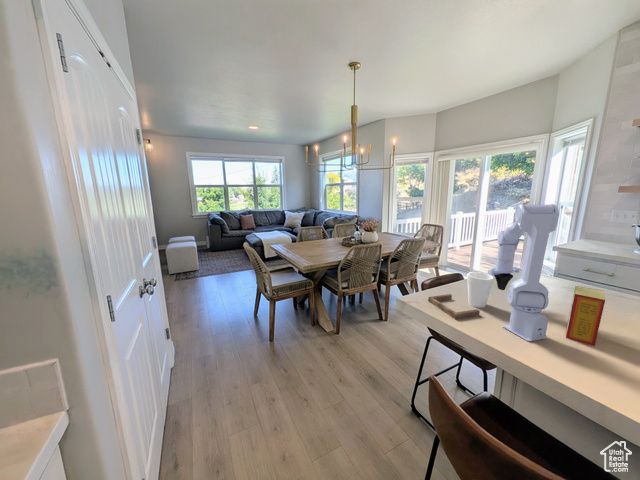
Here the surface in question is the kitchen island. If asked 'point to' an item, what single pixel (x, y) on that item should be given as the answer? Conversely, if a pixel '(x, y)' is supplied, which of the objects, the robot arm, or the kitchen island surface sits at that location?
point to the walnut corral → (455, 315)
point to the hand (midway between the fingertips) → (501, 289)
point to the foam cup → (479, 288)
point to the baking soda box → (585, 315)
